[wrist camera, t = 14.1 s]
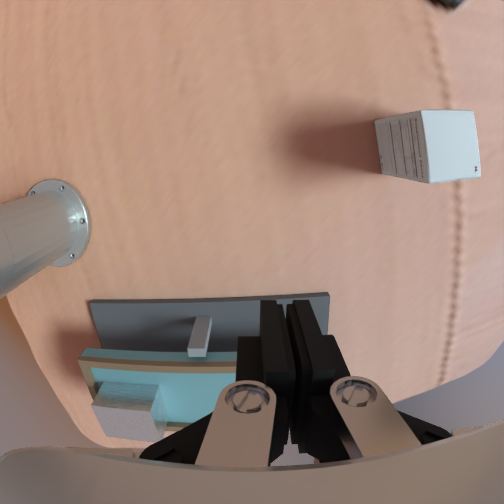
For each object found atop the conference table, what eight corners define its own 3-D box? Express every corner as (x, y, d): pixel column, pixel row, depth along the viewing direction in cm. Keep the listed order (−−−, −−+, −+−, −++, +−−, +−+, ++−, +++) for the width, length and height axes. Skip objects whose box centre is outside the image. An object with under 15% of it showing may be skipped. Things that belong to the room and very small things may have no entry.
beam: (110, 410, 41) (104, 423, 38) (86, 347, 37) (77, 359, 34) (323, 412, 41) (326, 426, 38) (331, 345, 37) (336, 359, 34)
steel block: (117, 412, 38) (106, 436, 34) (104, 381, 37) (90, 405, 32) (168, 416, 38) (161, 442, 34) (159, 384, 37) (149, 411, 32)
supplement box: (419, 117, 36) (475, 109, 24) (425, 170, 38) (483, 180, 26) (371, 119, 36) (420, 108, 24) (379, 175, 38) (429, 185, 26)
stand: (123, 399, 49) (108, 435, 40) (92, 299, 43) (65, 329, 34) (319, 398, 49) (329, 437, 40) (327, 292, 43) (345, 324, 34)
